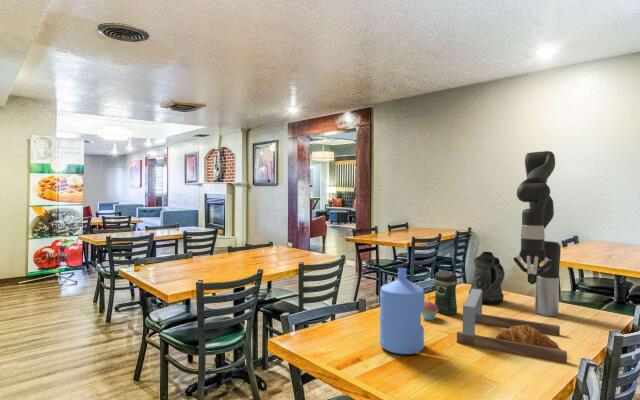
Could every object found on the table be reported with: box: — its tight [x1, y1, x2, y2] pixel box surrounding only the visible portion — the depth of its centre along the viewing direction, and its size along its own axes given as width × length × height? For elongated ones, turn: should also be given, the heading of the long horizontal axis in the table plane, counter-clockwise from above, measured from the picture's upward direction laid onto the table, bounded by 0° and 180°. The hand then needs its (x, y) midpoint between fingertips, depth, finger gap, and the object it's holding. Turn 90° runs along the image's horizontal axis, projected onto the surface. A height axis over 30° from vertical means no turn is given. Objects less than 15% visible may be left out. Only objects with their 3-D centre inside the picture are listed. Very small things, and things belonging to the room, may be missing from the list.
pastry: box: [495, 325, 562, 350], centre depth 133 cm, size 21×13×8 cm, turn 65°
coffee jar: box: [434, 271, 458, 316], centre depth 172 cm, size 10×8×19 cm
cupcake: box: [421, 293, 439, 321], centre depth 164 cm, size 9×8×12 cm
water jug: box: [379, 267, 426, 355], centre depth 134 cm, size 16×16×28 cm
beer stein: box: [468, 251, 505, 306], centre depth 190 cm, size 16×19×25 cm
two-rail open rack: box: [456, 289, 568, 364], centre depth 141 cm, size 28×34×14 cm
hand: (531, 283), depth 138 cm, fingers closed
